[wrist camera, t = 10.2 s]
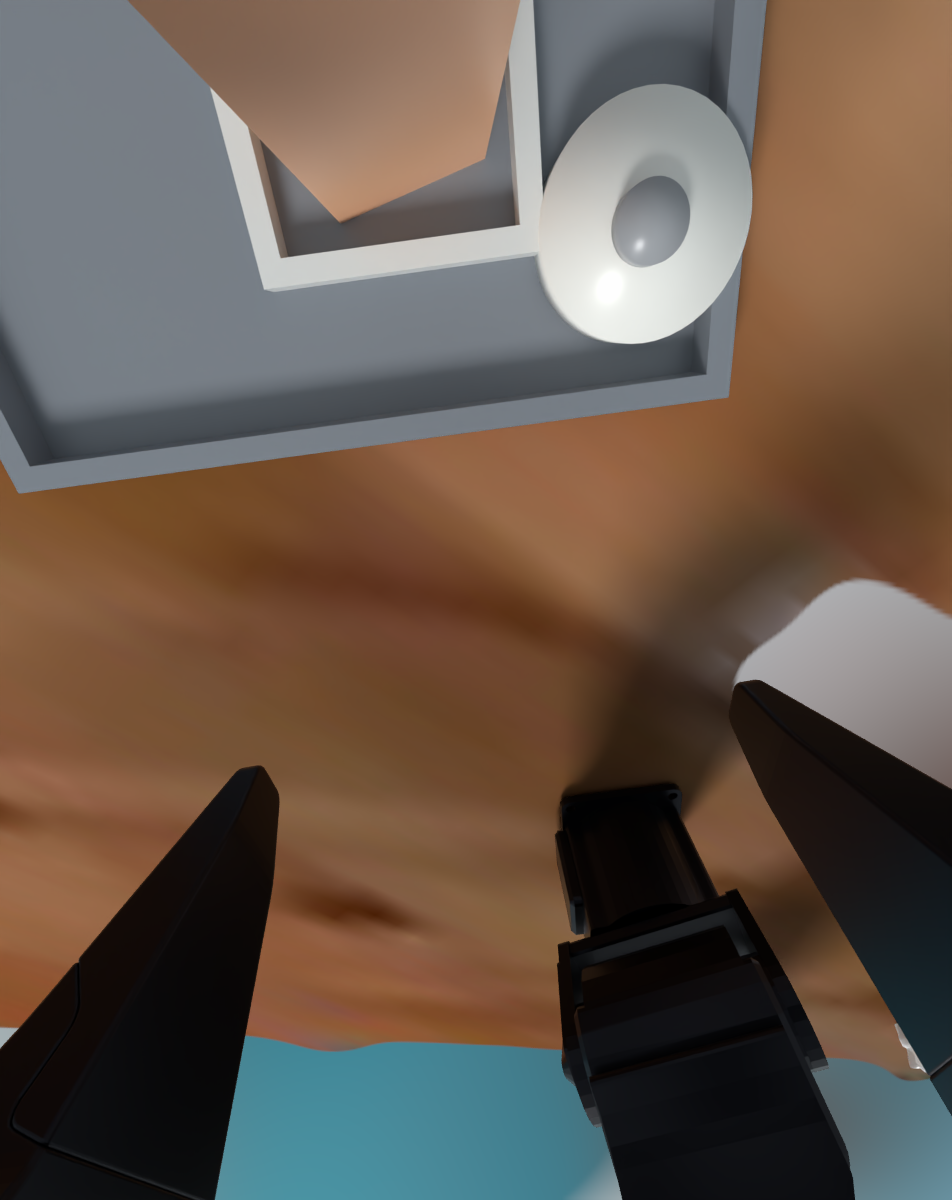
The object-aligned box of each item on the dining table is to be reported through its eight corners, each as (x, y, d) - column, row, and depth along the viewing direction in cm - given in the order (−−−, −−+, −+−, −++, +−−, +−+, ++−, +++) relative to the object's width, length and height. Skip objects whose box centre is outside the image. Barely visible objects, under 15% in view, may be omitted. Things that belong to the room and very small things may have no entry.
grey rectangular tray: (747, -222, 13) (824, -365, 10) (702, 391, 19) (742, 400, 16) (-219, -80, 13) (-386, -184, 10) (58, 478, 19) (-2, 501, 17)
